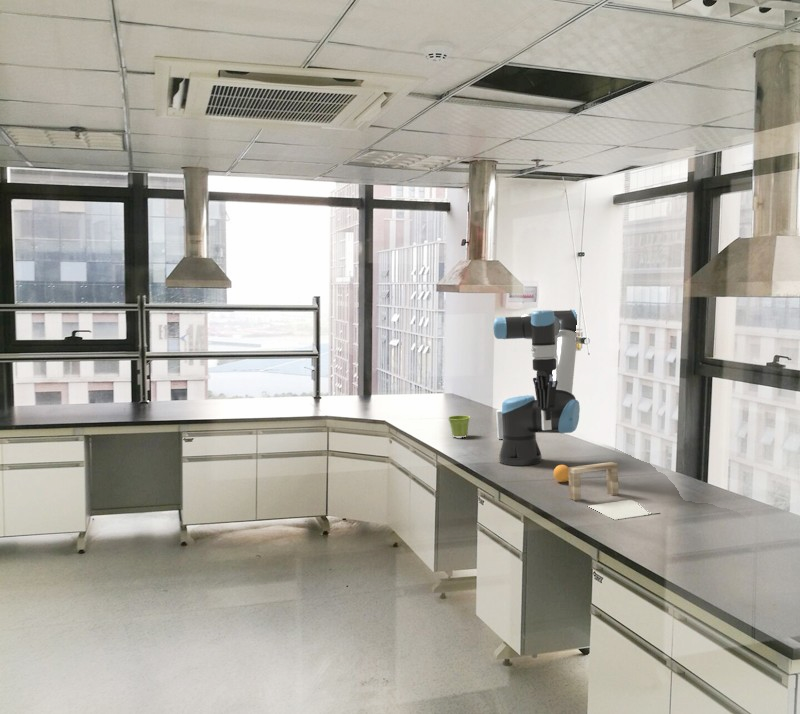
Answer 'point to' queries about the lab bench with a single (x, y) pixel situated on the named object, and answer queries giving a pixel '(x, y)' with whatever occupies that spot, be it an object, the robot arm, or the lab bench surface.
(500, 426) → the skincare box
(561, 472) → the ball
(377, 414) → the lab bench surface
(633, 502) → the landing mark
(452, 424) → the plant pot
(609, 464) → the bridge
